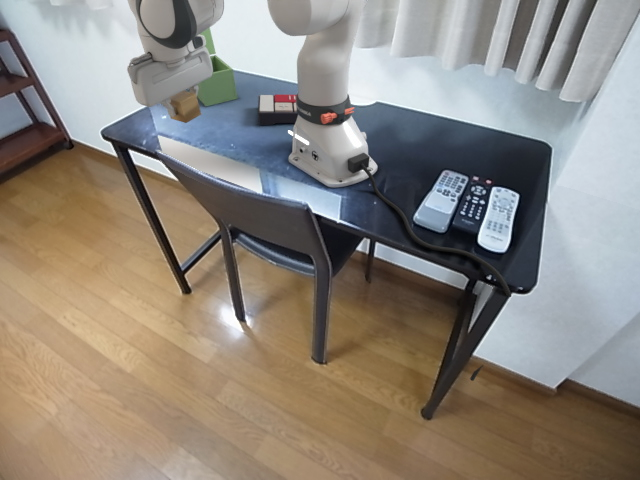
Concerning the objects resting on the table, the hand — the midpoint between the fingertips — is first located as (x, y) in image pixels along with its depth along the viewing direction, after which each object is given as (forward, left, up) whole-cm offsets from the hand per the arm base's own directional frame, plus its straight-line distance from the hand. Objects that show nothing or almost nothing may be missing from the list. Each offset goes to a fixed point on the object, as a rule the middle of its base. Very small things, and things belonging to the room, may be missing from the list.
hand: (184, 109), depth 87 cm
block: (0, 0, -2) cm, 2 cm away
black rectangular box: (+3, -28, -10) cm, 30 cm away
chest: (+27, -15, -10) cm, 33 cm away
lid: (+35, -15, +6) cm, 39 cm away
